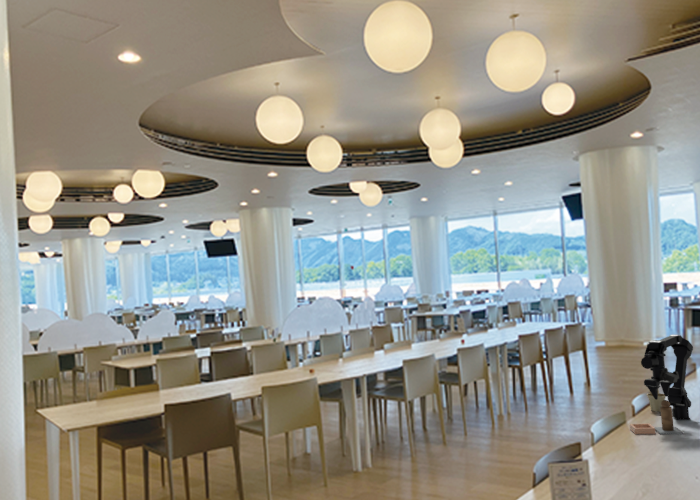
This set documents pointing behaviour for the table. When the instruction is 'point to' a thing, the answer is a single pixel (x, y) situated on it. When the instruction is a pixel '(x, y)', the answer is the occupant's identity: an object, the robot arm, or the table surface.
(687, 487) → the table surface
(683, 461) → the table surface
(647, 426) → the pink square tray
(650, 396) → the flower pot
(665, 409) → the pepper mill
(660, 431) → the plate
